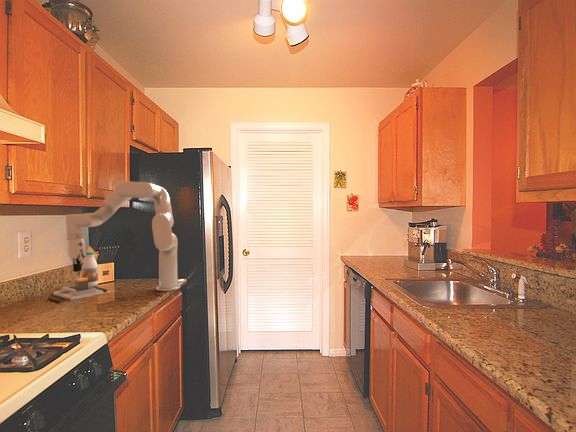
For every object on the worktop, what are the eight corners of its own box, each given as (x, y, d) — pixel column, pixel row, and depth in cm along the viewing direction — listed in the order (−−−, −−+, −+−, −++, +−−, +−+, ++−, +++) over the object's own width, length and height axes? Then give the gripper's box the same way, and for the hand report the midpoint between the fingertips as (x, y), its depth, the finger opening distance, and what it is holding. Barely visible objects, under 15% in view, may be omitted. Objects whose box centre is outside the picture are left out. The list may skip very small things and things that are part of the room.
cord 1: (48, 299, 155) (48, 297, 155) (51, 298, 156) (51, 296, 156) (59, 303, 148) (59, 300, 148) (62, 302, 149) (62, 300, 149)
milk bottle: (80, 286, 183) (79, 252, 183) (94, 283, 190) (93, 250, 190) (86, 287, 179) (85, 253, 179) (100, 285, 185) (99, 251, 185)
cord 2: (91, 289, 176) (91, 287, 176) (96, 288, 178) (96, 286, 178) (102, 292, 169) (102, 290, 169) (107, 291, 171) (107, 289, 171)
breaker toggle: (84, 290, 165) (84, 277, 165) (88, 291, 163) (87, 278, 163) (76, 292, 162) (75, 278, 162) (79, 293, 160) (79, 279, 160)
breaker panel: (85, 288, 176) (84, 282, 176) (103, 293, 165) (102, 287, 165) (53, 294, 164) (53, 288, 164) (70, 300, 153) (70, 293, 153)
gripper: (89, 236, 167) (91, 270, 167) (76, 236, 175) (78, 269, 176) (74, 237, 161) (76, 273, 161) (61, 237, 169) (63, 271, 169)
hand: (77, 271), depth 168 cm, fingers closed
